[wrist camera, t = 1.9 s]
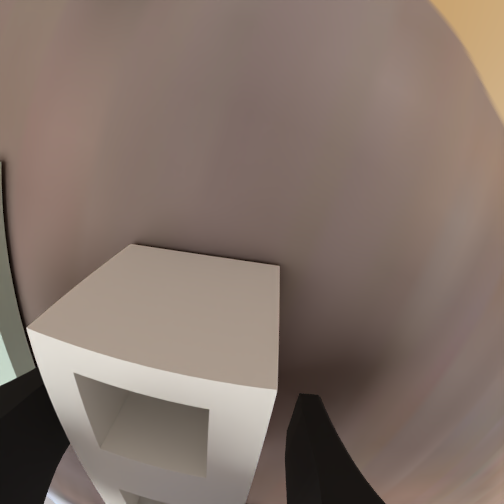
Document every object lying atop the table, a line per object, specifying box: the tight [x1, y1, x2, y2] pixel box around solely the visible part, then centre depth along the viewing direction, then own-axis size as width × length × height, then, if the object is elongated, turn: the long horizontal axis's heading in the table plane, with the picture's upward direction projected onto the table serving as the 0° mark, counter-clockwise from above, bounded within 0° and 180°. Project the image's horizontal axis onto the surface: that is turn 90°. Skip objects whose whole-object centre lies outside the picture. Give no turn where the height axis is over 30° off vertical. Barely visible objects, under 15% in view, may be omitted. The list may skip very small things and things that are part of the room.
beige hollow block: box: [26, 244, 280, 504], centre depth 8 cm, size 9×5×5 cm, turn 173°
